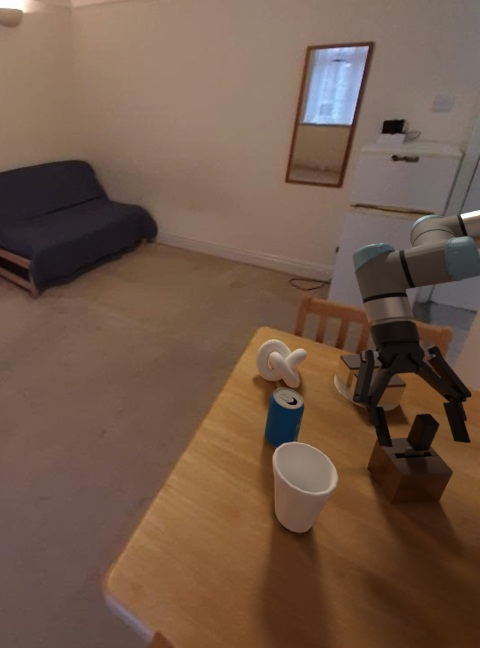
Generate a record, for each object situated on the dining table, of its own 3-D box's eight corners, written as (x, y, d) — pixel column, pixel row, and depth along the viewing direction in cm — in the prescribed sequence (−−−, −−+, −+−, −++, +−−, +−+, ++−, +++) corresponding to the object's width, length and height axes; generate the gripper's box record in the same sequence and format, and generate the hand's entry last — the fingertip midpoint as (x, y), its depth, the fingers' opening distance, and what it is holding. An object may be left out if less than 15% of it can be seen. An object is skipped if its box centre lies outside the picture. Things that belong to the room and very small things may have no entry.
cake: (371, 371, 103) (376, 353, 100) (399, 404, 93) (406, 384, 90) (335, 373, 102) (340, 355, 100) (360, 406, 93) (366, 386, 90)
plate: (395, 380, 101) (396, 377, 100) (402, 421, 90) (403, 418, 89) (333, 365, 107) (334, 362, 106) (332, 402, 95) (333, 399, 95)
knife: (406, 477, 78) (432, 413, 70) (414, 489, 76) (443, 424, 68) (388, 478, 78) (413, 414, 70) (396, 490, 76) (423, 425, 68)
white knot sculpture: (247, 382, 102) (251, 353, 98) (261, 355, 111) (265, 328, 107) (294, 399, 96) (300, 370, 93) (305, 369, 105) (310, 342, 102)
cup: (280, 479, 78) (290, 431, 73) (333, 516, 72) (348, 467, 66) (252, 514, 72) (261, 465, 67) (307, 559, 66) (322, 509, 60)
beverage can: (285, 458, 82) (294, 415, 77) (258, 438, 87) (264, 396, 82) (302, 440, 86) (311, 398, 81) (274, 422, 91) (282, 381, 85)
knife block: (411, 464, 80) (422, 436, 77) (439, 501, 73) (453, 472, 70) (366, 467, 80) (376, 439, 77) (390, 504, 73) (402, 475, 70)
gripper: (440, 323, 81) (476, 438, 74) (318, 329, 81) (342, 445, 74) (470, 316, 74) (513, 442, 67) (337, 322, 74) (366, 450, 67)
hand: (424, 444), depth 70 cm, fingers open, 13 cm apart
